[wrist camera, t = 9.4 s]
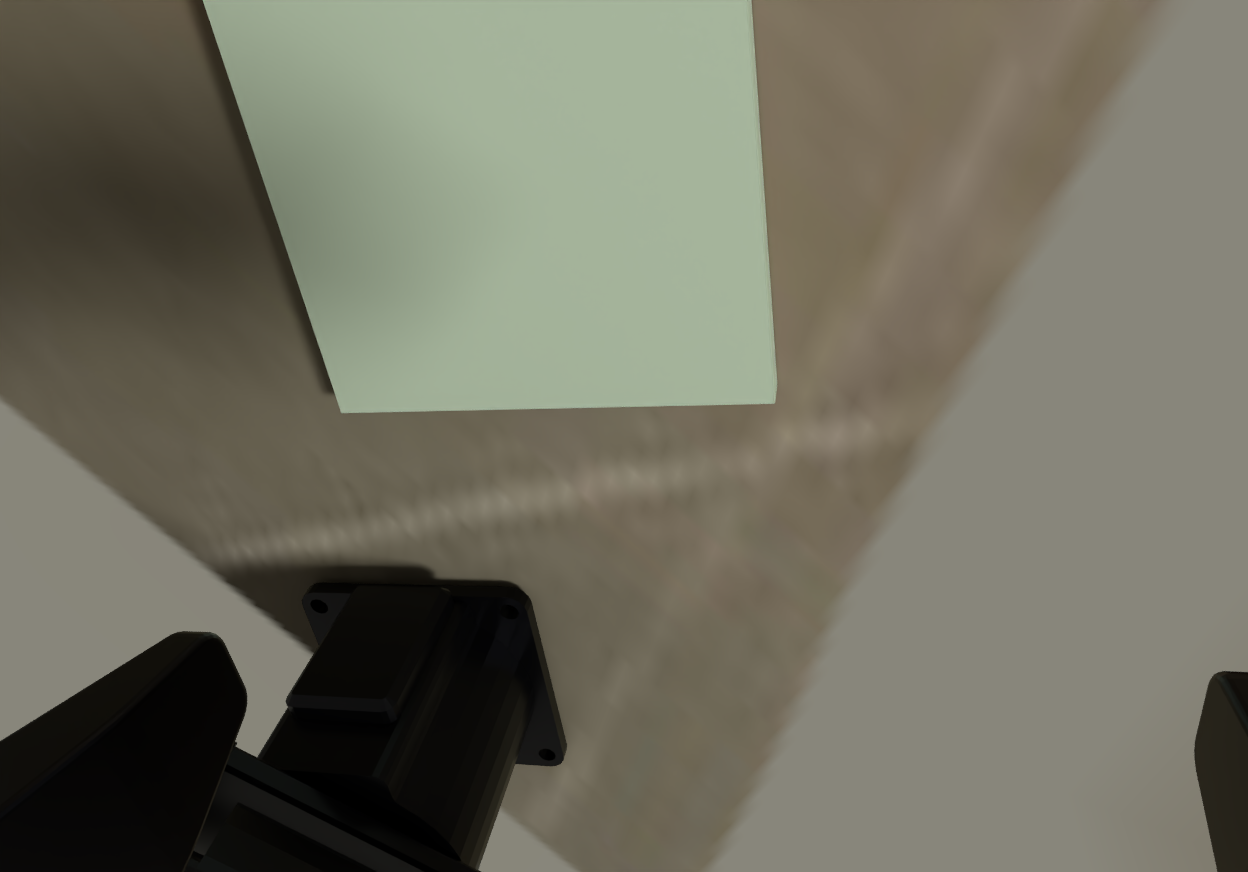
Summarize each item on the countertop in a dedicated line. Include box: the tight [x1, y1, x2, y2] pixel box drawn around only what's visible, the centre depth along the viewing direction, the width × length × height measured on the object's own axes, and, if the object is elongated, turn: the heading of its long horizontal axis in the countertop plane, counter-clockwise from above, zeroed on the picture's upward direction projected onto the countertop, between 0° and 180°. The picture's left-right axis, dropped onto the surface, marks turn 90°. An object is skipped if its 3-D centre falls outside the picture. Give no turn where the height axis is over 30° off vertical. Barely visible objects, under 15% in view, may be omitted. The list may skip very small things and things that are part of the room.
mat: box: [203, 0, 777, 413], centre depth 20 cm, size 10×10×1 cm
